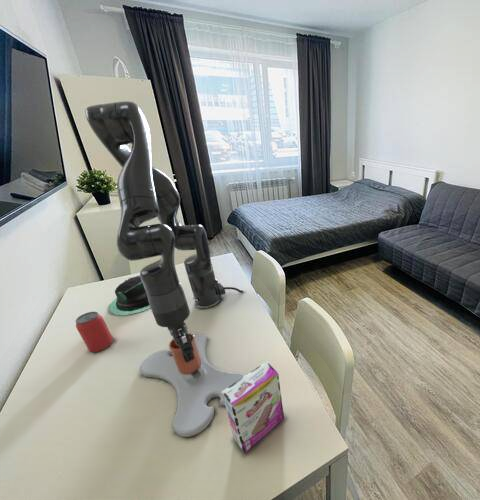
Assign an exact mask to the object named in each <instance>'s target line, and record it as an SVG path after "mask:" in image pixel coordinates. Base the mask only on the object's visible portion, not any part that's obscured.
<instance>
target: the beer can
mask: <svg viewBox="0 0 480 500" xmlns="http://www.w3.org/2000/svg"><path fill="white" fill-rule="evenodd" d="M75 328H76V330H77V332H78V334H79V335H80V338H81V339H82V340H83V342H84V344H85V346H86V348H87V350H88V351H89V352H90V353H91V352H92V353H98V352H101V351H104V350H106V349H107V348H109V347H110V346H111V345H112V343H113V342H114V338H113V335H112V334H111V332H110V329H109V327H108V325H107V324H106V321H105V320H104V318H103V316H102V315H101V314H100V313H99V312H98V311H89V312H86V313H83V314H81V315H79V316H78V317H77V318H76V319H75Z"/></svg>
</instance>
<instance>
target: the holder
mask: <svg viewBox="0 0 480 500" xmlns="http://www.w3.org/2000/svg"><path fill="white" fill-rule="evenodd" d="M192 334H193V335H194V337H195V340H196V343H197V346H198V349H199V352H200V356H201V359H202V364H201V366H200V367H199V368H198V369H197V370H196V371H195V372H193V373H190V374H181V373H179V371H178V368H177V366H176V363H175V361H174V358H173V355H172V353H171V350H168V349H166V350H164V349H163V350H159V351H156V352H153V353H151V354H150V355H148V356H147V357H146V358H145V359H143V361H142V362H141V363H140V366H139V372H140V374H141V375H142V376H143V377H145V378H156V379H161V380H164V381H166V382H168V383H169V384H170V385H171V386H172V387H173V388H174V389H175V391H176V394H177V395H176V396H177V408H176V411H175V415H174V418H173V420H172V427H173V430H174V432H175V433H176V434H177V436H179V437H182V438H188V437H193V436H196V435H197V434H199V433H201V432H203V431H204V430H205V429H206V428H207V427H208V426H209V425H210V423H211V422H212V420H213V418H214V415H215V407H214V406H208V403H209V402H210V401H211V400H213V399H214V398H220V400H219V402H218V403H219V406H224V407H225V403H224V399H223V396H222V391H223V390H225V389H226V388H228V387H229V386H231V385H232V384H234V383H235V382H237V381H238V380H240V379H241V378H242V377H244V376H245V375H244V374H242V373H239V372H227V371H223V370H220V369H217V368H216V367H215V366H213V365H212V364H211V363H210V362H209V361H208V360H207V358H206V357H207V356H206V346H207V342H208V340H207V336H206V335H204V334H203V333H201V332H200V333H199V332H195V333H194V332H193V333H192ZM171 355H172V356H171Z"/></svg>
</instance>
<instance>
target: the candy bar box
mask: <svg viewBox="0 0 480 500" xmlns="http://www.w3.org/2000/svg"><path fill="white" fill-rule="evenodd" d="M222 396H223V399H224V403H225V406H224V407H225V410H226V414H227V417H228V421H229V425H230V429H231V431H232V435H233V439H234V441H235V442H236V443H237V445H238V447H239V448H240V450H241V451H242V452H243V454H246V453H247V452H248V451H249V450H251V449H252V448H253V447H254V446H255V445H256V444H257V443H259V442H260V441H261V440H262V439H263V438H264V437H265V436H267V434H269V433H270V432H271V431H272V430H273V429H274V428H275V427H276V426H278V424H280V423H281V422H282V421H283V420H284V419H285V414H284V408H283V407H284V406H283V399H282V392H281V385H280V375H279V372H278V371H277V370H276V369H275V368H274V367H273V366H272V365H271V364H270V362H268V361H264V362H263V363H261V364H260V365H259V366H257V367H256V368H254V369H253V370H251V371H249V372H248V373H247V374H245V375H244V377H242V378H241V379H240V380H238V381H237V382H235V383H234V384H232V385H231V386H229V387H228V388H226V389H225V390H223V391H222Z"/></svg>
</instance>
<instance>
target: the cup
mask: <svg viewBox="0 0 480 500" xmlns="http://www.w3.org/2000/svg"><path fill="white" fill-rule="evenodd" d="M188 333H189V335H190V338H191V339H190V340H191V343H192V346H193V348H194V349H193V350H194V351H192V352H193V355H194V359H193V360H192V361H190V362H188V363H186V362H185V360H184V357H183V355H182V352H180V351H181V350H180V347H179V346H177V345H176V344H175V341H174V339H173V338H172V339H171V340H170V341H169V343H168V347H169V351H171V355H172V356H173V358H174V361H175V363H176V366H177V368H178V371H179V373H181V374H190V373H193V372H195V371H196V370H197V369H198V368H199V367H200V366H201V364H202V359H201V356H200V352H199V349H198V346H197V343H196V340H195V337H194V335H193V333H190V332H188ZM176 339H177V338H176ZM177 340H178V339H177Z"/></svg>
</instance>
